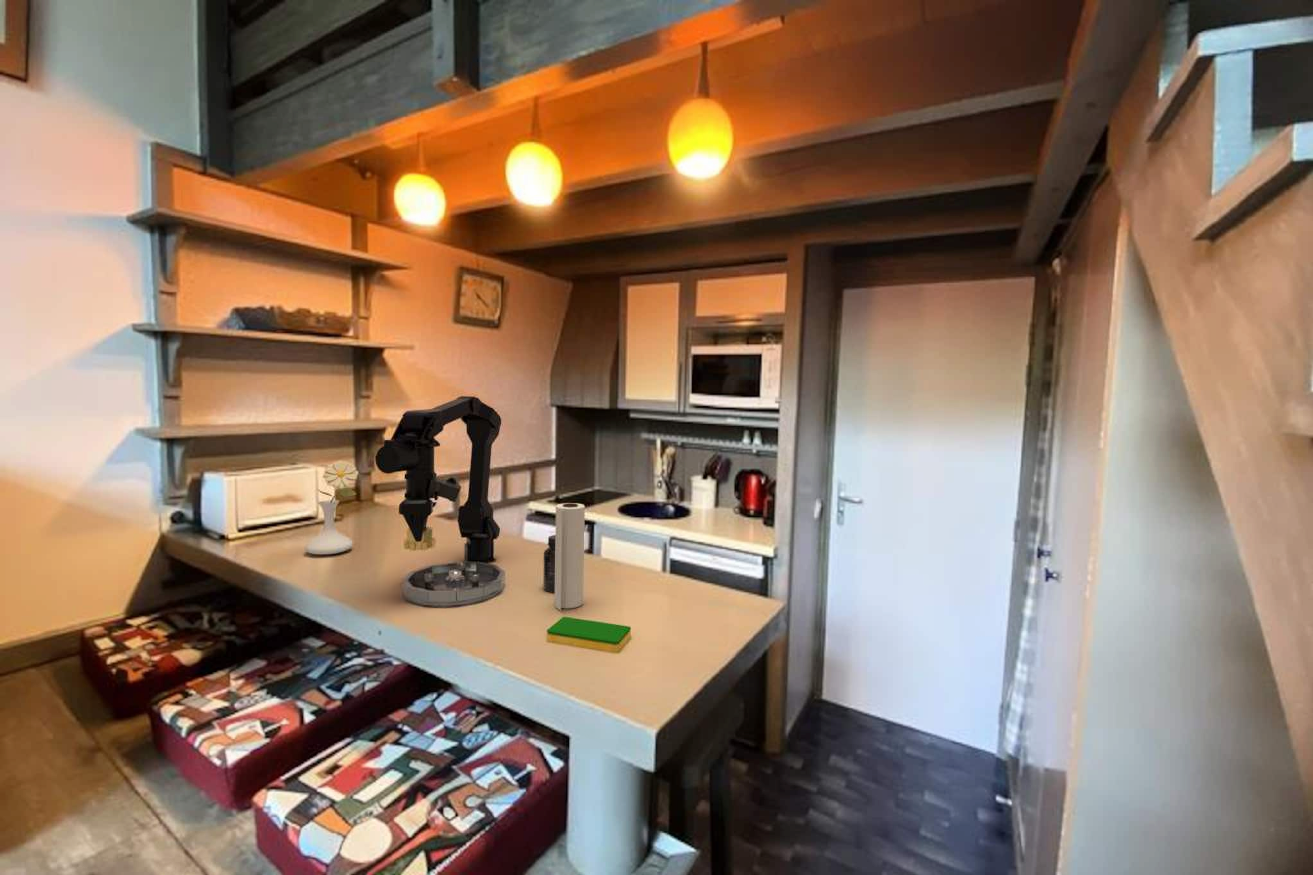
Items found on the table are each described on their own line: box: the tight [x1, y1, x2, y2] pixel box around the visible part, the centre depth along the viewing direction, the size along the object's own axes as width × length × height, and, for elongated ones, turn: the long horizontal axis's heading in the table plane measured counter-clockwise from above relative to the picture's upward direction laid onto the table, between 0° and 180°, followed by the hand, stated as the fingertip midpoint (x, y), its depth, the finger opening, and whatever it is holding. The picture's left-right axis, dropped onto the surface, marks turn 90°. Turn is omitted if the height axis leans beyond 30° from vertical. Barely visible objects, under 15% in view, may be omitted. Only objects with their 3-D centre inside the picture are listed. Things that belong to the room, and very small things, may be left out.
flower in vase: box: [304, 460, 359, 556], centre depth 150 cm, size 13×11×25 cm
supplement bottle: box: [542, 534, 556, 594], centre depth 128 cm, size 7×7×12 cm
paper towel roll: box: [553, 502, 586, 613], centre depth 118 cm, size 7×6×21 cm
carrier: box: [401, 561, 506, 608], centre depth 125 cm, size 21×21×4 cm
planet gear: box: [403, 525, 436, 552], centre depth 124 cm, size 6×6×4 cm
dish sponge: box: [546, 616, 632, 654], centre depth 102 cm, size 7×14×2 cm, turn 73°
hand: (419, 538), depth 124 cm, fingers closed on planet gear, 5 cm apart
